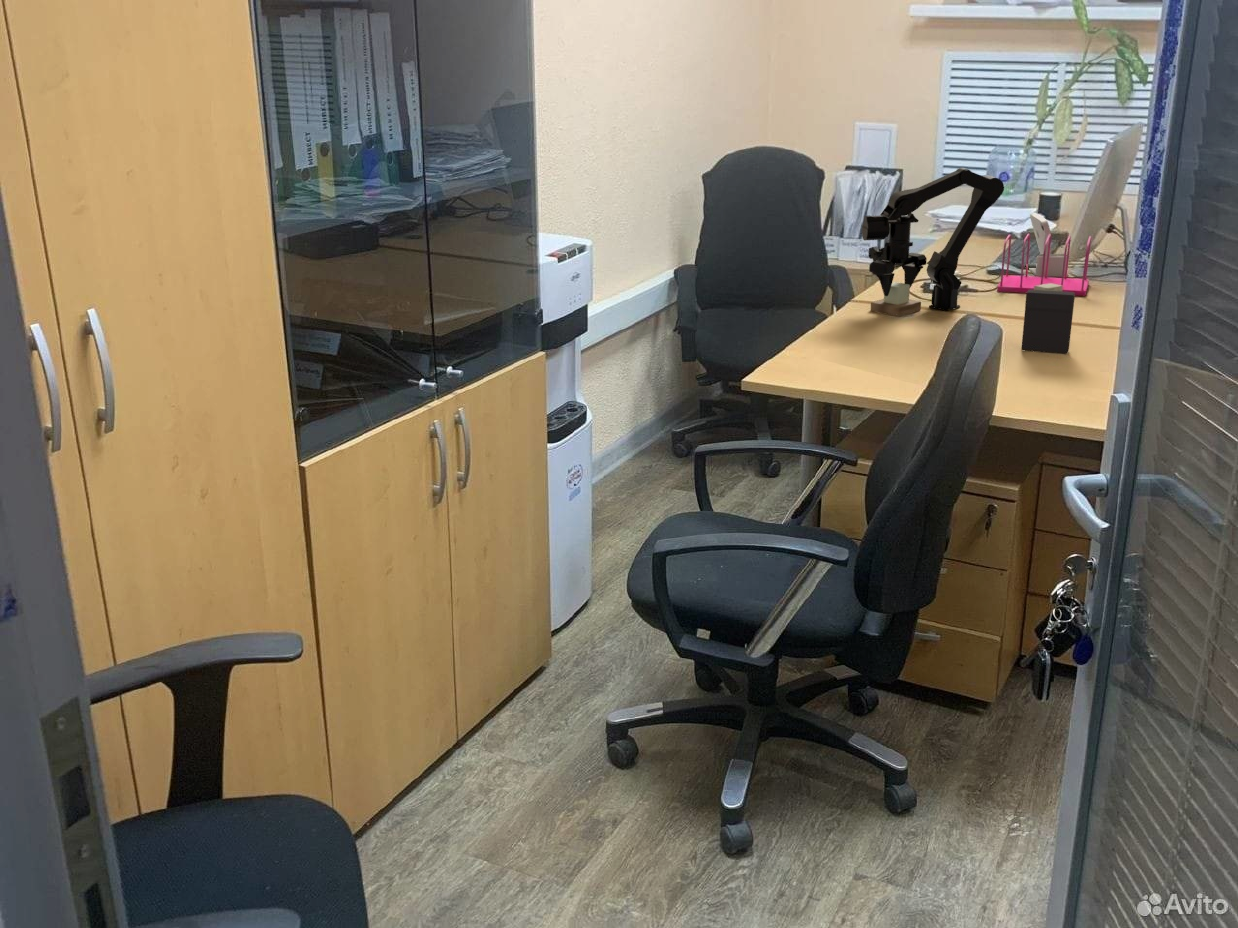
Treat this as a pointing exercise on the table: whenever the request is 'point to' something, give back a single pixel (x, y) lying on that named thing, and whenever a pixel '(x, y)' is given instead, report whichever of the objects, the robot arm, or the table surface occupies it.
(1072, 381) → the table surface
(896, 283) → the sage cube
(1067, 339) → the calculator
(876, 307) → the walnut block
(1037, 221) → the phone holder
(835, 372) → the table surface
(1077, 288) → the file sorter
